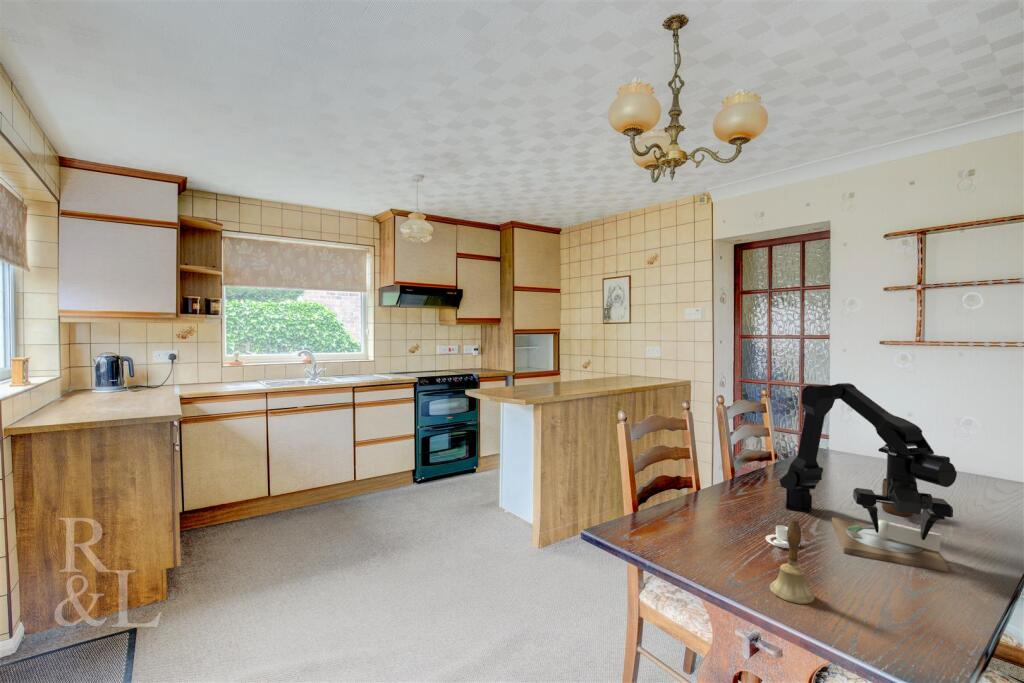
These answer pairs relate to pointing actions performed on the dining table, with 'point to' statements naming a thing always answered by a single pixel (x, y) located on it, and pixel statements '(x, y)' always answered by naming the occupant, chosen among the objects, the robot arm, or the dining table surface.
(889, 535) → the dial pointer lever
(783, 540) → the teacup and saucer
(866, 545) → the tuner board
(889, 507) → the mug
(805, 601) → the hand bell
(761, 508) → the dining table surface
